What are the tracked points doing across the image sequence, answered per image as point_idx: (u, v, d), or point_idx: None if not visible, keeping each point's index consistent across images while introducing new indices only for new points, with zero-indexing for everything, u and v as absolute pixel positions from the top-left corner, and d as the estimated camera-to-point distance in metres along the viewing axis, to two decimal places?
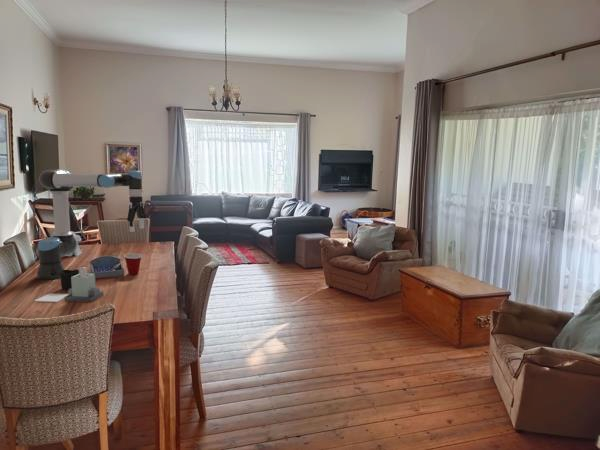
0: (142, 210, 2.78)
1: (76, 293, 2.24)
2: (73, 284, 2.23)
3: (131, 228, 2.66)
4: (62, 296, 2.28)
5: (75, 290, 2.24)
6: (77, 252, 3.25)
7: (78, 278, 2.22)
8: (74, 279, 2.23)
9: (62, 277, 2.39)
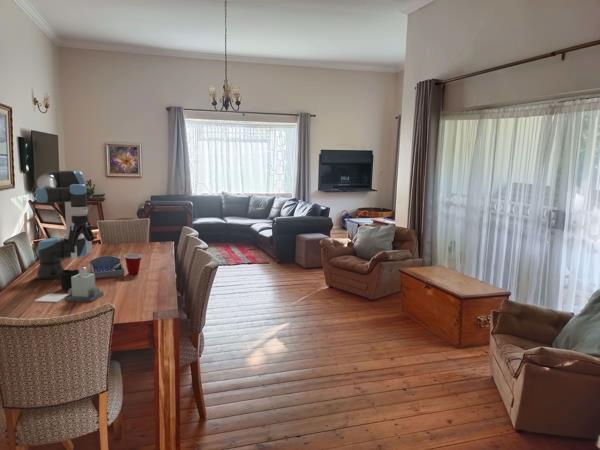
0: (89, 231, 2.30)
1: (76, 293, 2.24)
2: (73, 284, 2.23)
3: (73, 254, 2.17)
4: (62, 296, 2.28)
5: (75, 290, 2.24)
6: None
7: (78, 278, 2.22)
8: (74, 279, 2.23)
9: (62, 277, 2.39)
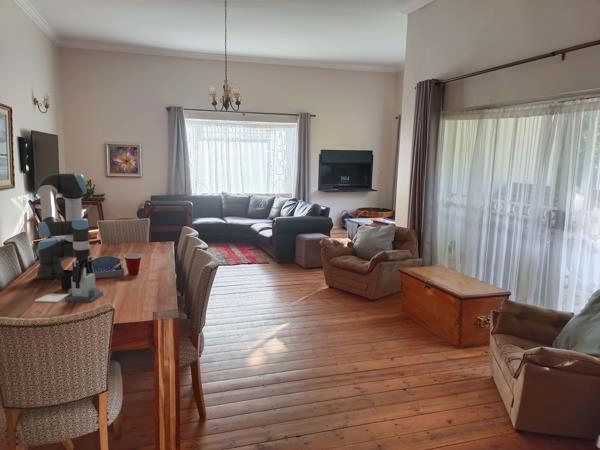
0: (90, 266, 2.31)
1: None
2: (73, 284, 2.23)
3: (78, 290, 2.23)
4: (62, 296, 2.28)
5: (75, 290, 2.24)
6: None
7: None
8: None
9: (62, 277, 2.39)
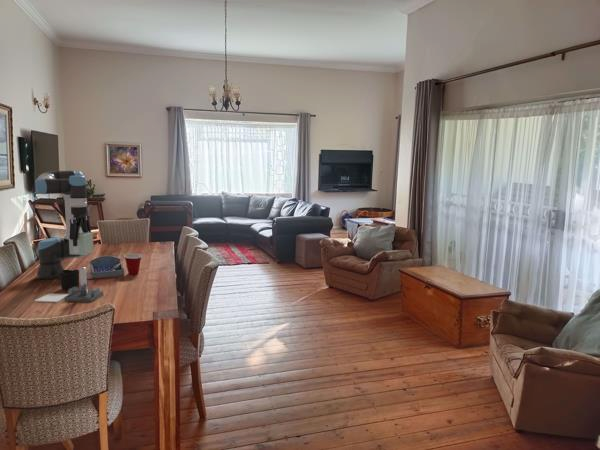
0: (87, 225, 2.28)
1: None
2: (70, 242, 2.20)
3: (75, 248, 2.20)
4: (62, 296, 2.28)
5: (72, 248, 2.20)
6: None
7: None
8: None
9: (62, 277, 2.39)
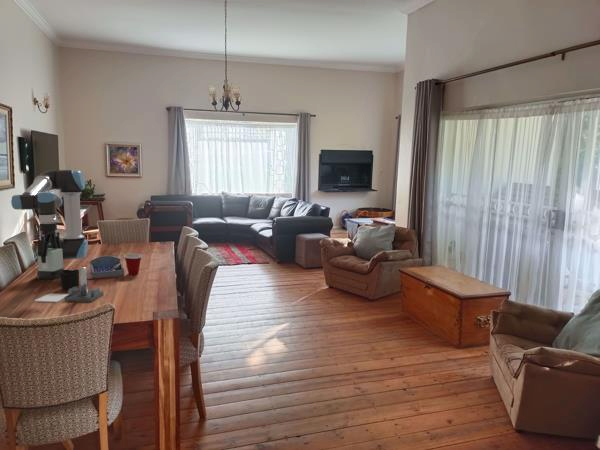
0: (57, 241, 2.28)
1: None
2: (39, 258, 2.19)
3: (44, 265, 2.19)
4: (62, 296, 2.28)
5: (41, 265, 2.20)
6: None
7: None
8: None
9: (62, 277, 2.39)
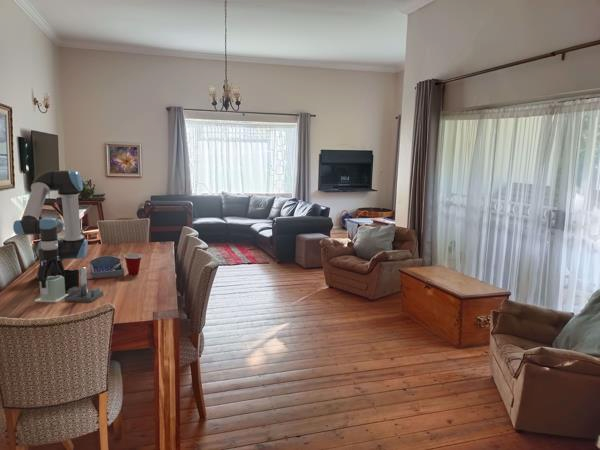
0: (60, 265, 2.30)
1: (45, 296, 2.22)
2: (41, 287, 2.22)
3: (44, 290, 2.19)
4: None
5: None
6: None
7: None
8: None
9: None
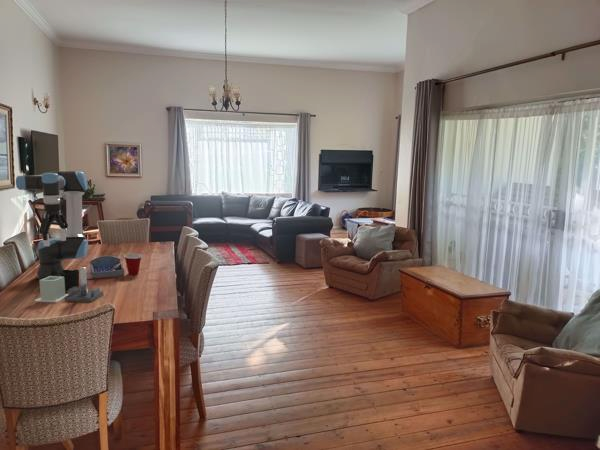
0: (63, 219, 2.35)
1: (45, 296, 2.22)
2: (41, 287, 2.22)
3: (45, 242, 2.23)
4: None
5: (43, 293, 2.22)
6: None
7: (46, 281, 2.21)
8: (42, 282, 2.21)
9: None
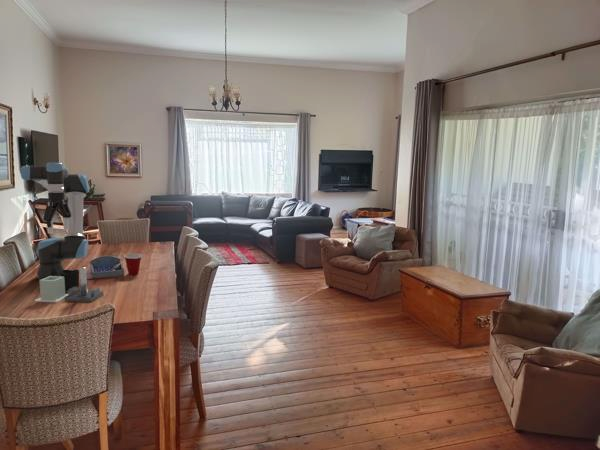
0: (66, 208, 2.41)
1: (45, 296, 2.22)
2: (41, 287, 2.22)
3: (49, 229, 2.28)
4: None
5: (43, 293, 2.22)
6: None
7: (46, 281, 2.21)
8: (42, 282, 2.21)
9: None
